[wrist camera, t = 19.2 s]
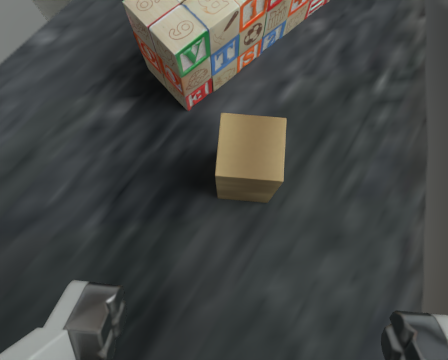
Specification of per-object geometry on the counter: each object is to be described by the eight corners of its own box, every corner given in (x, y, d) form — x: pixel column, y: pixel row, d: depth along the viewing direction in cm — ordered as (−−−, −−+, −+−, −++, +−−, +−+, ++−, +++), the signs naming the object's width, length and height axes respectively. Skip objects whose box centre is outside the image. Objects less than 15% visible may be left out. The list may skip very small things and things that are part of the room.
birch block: (217, 200, 30) (214, 175, 21) (221, 153, 31) (220, 112, 23) (267, 204, 30) (284, 181, 21) (270, 157, 31) (287, 117, 22)
